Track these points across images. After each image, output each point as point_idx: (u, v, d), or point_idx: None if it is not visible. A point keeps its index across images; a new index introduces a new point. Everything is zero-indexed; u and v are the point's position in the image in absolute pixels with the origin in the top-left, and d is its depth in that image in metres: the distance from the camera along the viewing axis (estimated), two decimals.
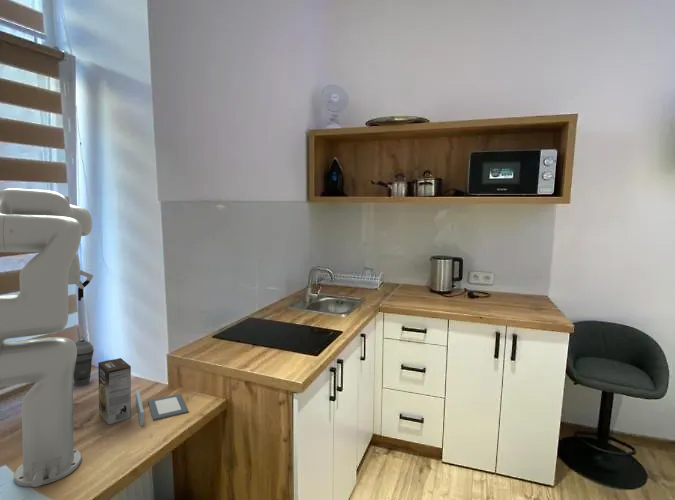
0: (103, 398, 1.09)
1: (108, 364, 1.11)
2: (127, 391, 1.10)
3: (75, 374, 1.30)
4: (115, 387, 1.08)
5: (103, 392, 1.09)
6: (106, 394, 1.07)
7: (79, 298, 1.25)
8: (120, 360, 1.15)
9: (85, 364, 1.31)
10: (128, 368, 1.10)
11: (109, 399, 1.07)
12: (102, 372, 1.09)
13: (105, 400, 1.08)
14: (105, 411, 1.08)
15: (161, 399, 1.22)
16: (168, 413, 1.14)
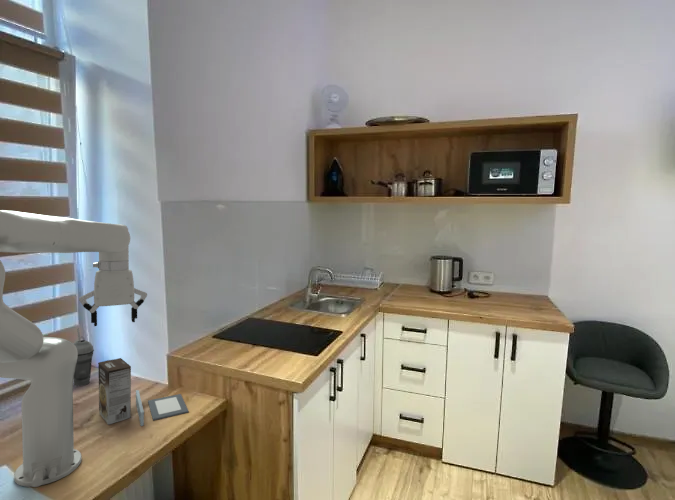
0: (103, 398, 1.09)
1: (108, 364, 1.11)
2: (127, 391, 1.11)
3: (75, 374, 1.30)
4: (115, 387, 1.08)
5: (103, 392, 1.09)
6: (106, 394, 1.07)
7: (133, 319, 1.12)
8: (120, 360, 1.15)
9: (85, 364, 1.31)
10: (128, 368, 1.10)
11: (109, 399, 1.07)
12: (102, 372, 1.09)
13: (105, 400, 1.08)
14: (105, 411, 1.08)
15: (161, 399, 1.22)
16: (168, 413, 1.14)
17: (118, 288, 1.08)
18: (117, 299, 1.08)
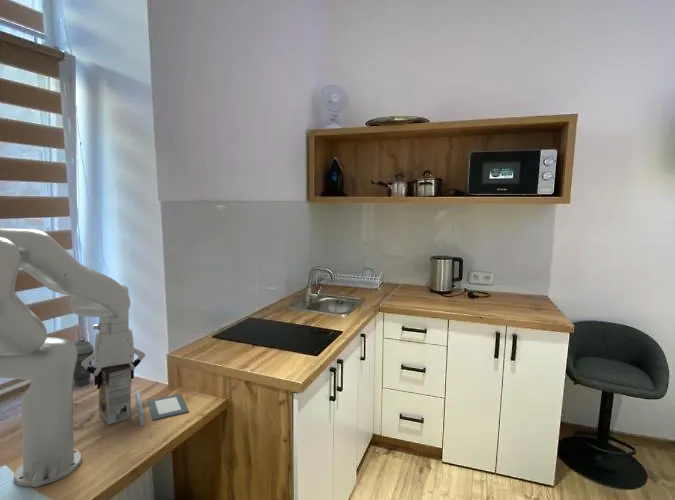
0: (103, 398, 1.09)
1: None
2: (127, 391, 1.11)
3: (75, 374, 1.30)
4: (115, 387, 1.08)
5: (103, 392, 1.09)
6: (106, 394, 1.07)
7: None
8: None
9: None
10: (128, 368, 1.10)
11: (109, 399, 1.07)
12: (102, 372, 1.09)
13: (105, 400, 1.08)
14: (105, 411, 1.09)
15: (161, 399, 1.22)
16: (168, 413, 1.14)
17: (118, 349, 1.09)
18: (117, 360, 1.09)
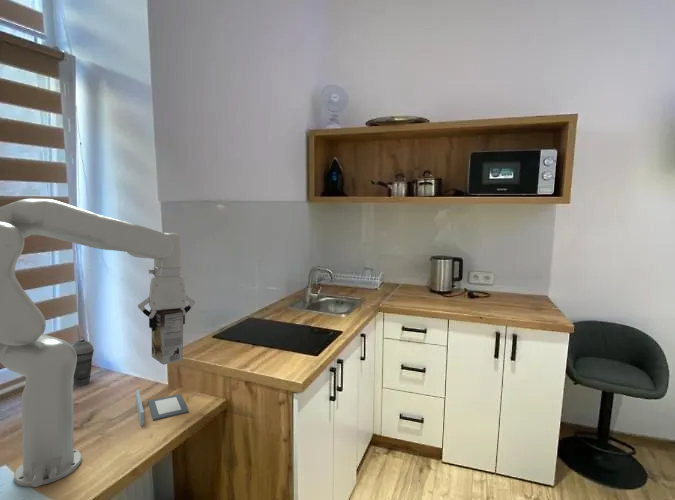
0: (157, 340, 1.14)
1: None
2: (180, 334, 1.15)
3: (75, 374, 1.30)
4: (170, 329, 1.13)
5: (157, 334, 1.14)
6: (162, 335, 1.12)
7: None
8: None
9: (85, 364, 1.31)
10: (181, 312, 1.15)
11: (164, 340, 1.12)
12: (156, 315, 1.14)
13: (160, 341, 1.13)
14: (160, 352, 1.13)
15: (161, 399, 1.22)
16: (168, 413, 1.14)
17: (172, 293, 1.14)
18: (171, 304, 1.14)
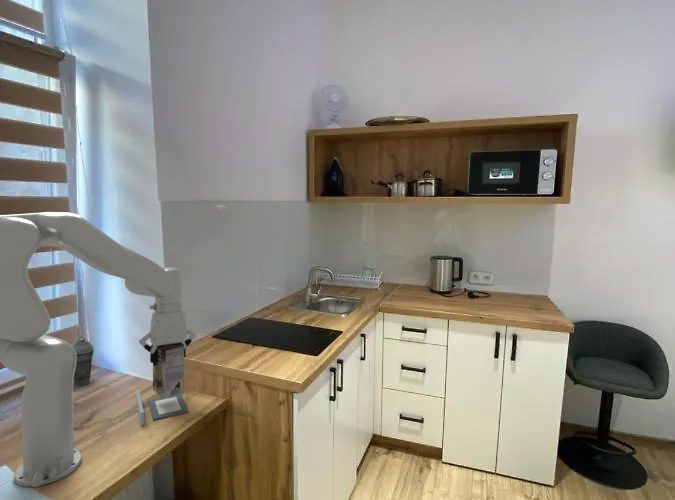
0: (159, 374, 1.15)
1: None
2: (180, 368, 1.16)
3: (75, 374, 1.30)
4: (171, 364, 1.14)
5: (159, 369, 1.15)
6: (163, 370, 1.13)
7: None
8: None
9: (85, 364, 1.31)
10: (182, 346, 1.16)
11: (165, 375, 1.13)
12: (158, 350, 1.15)
13: (161, 376, 1.14)
14: (161, 387, 1.14)
15: (161, 399, 1.22)
16: (168, 413, 1.14)
17: (173, 328, 1.15)
18: (172, 338, 1.15)
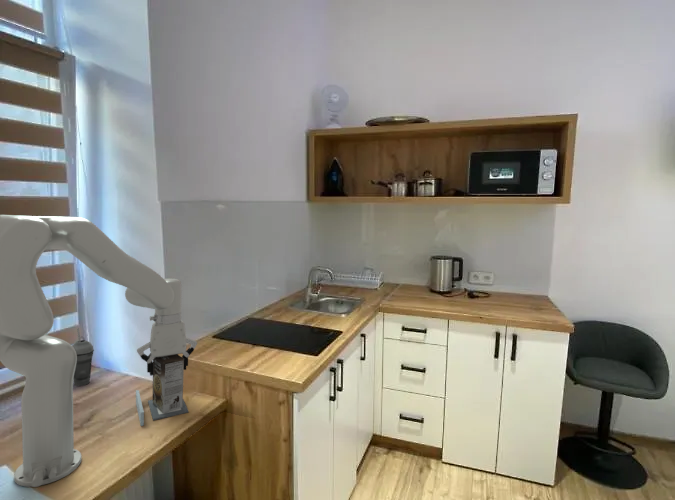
0: (158, 388, 1.15)
1: None
2: (180, 382, 1.16)
3: (75, 374, 1.30)
4: (170, 378, 1.14)
5: (158, 382, 1.15)
6: (162, 384, 1.13)
7: (185, 367, 1.19)
8: None
9: (85, 364, 1.31)
10: (181, 360, 1.16)
11: (164, 389, 1.13)
12: (157, 363, 1.15)
13: (161, 390, 1.14)
14: (160, 400, 1.14)
15: None
16: (168, 413, 1.14)
17: (172, 339, 1.15)
18: (171, 350, 1.15)
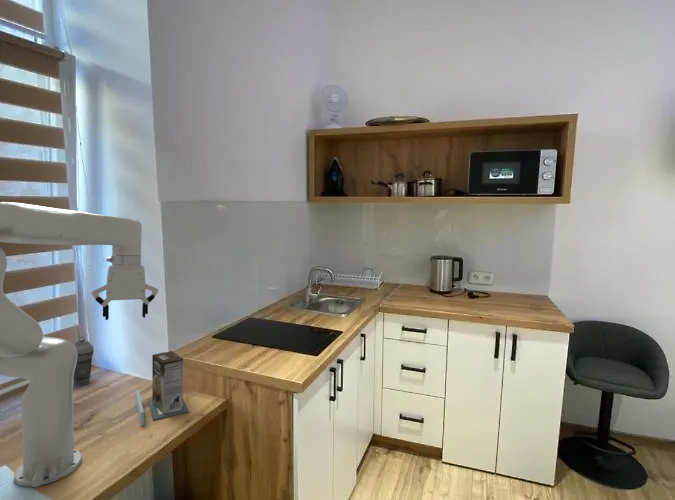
0: (158, 388, 1.15)
1: (162, 357, 1.17)
2: (179, 382, 1.16)
3: (75, 374, 1.30)
4: (170, 378, 1.14)
5: (158, 383, 1.15)
6: (162, 385, 1.13)
7: (144, 315, 1.13)
8: (171, 352, 1.21)
9: (85, 364, 1.31)
10: (181, 360, 1.16)
11: (164, 389, 1.13)
12: (157, 364, 1.15)
13: (160, 390, 1.14)
14: (160, 401, 1.14)
15: None
16: (168, 413, 1.14)
17: (130, 283, 1.09)
18: (128, 293, 1.09)
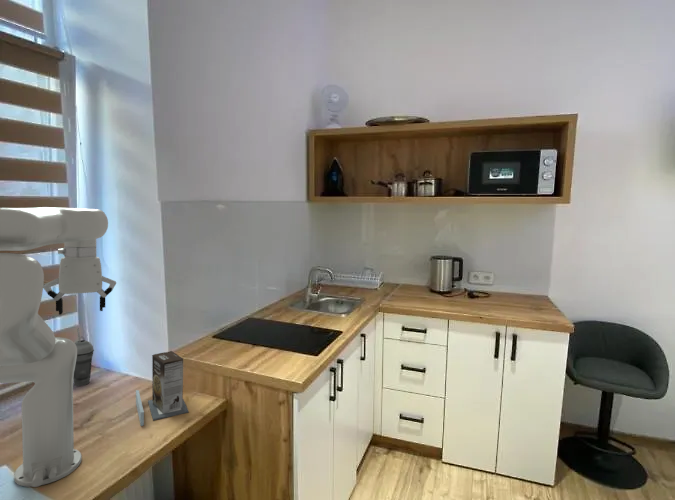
0: (158, 388, 1.15)
1: (162, 357, 1.17)
2: (179, 382, 1.16)
3: (75, 374, 1.30)
4: (170, 378, 1.14)
5: (158, 383, 1.15)
6: (162, 385, 1.13)
7: (101, 308, 1.09)
8: (171, 352, 1.21)
9: (85, 364, 1.31)
10: (181, 360, 1.16)
11: (164, 389, 1.13)
12: (157, 364, 1.15)
13: (160, 390, 1.14)
14: (160, 401, 1.14)
15: None
16: (168, 413, 1.14)
17: (84, 275, 1.05)
18: (83, 287, 1.05)
